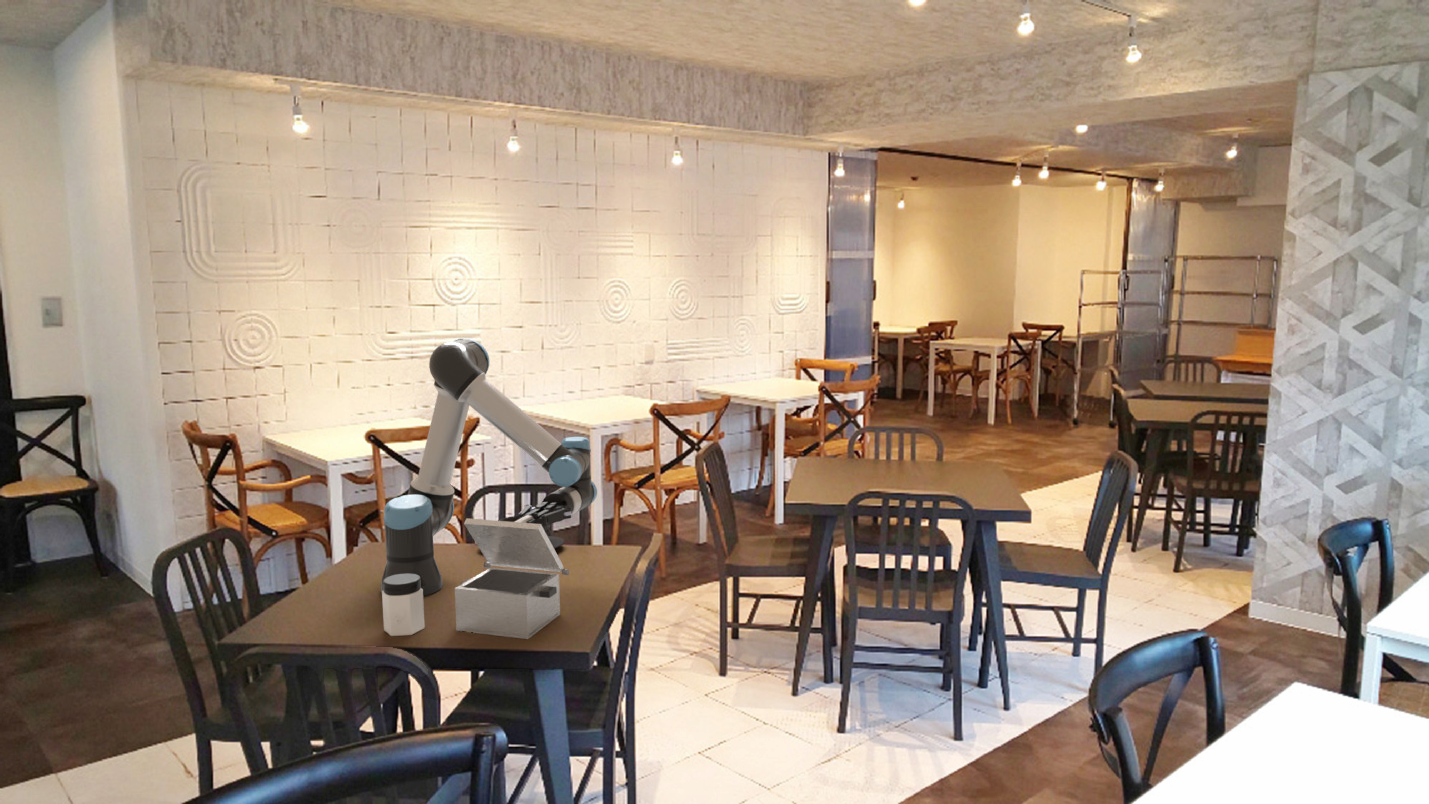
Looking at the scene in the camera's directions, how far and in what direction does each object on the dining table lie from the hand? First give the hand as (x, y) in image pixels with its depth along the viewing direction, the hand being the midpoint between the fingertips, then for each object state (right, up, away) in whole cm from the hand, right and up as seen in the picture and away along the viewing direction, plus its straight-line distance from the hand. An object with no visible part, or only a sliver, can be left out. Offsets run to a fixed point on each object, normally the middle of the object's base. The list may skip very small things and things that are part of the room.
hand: (516, 527), depth 225 cm
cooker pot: (-1, -22, -1) cm, 22 cm away
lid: (0, -5, -1) cm, 5 cm away
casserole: (-10, -14, +58) cm, 60 cm away
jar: (-24, -23, -6) cm, 34 cm away
